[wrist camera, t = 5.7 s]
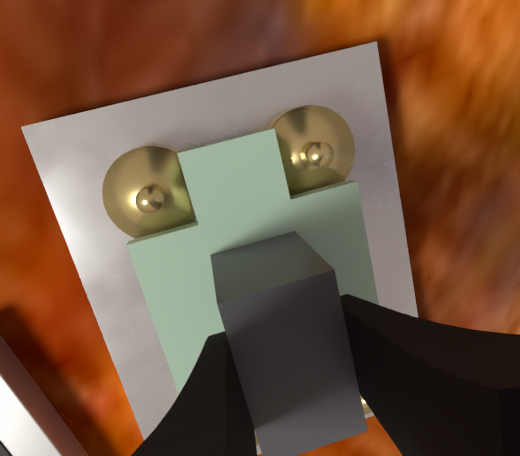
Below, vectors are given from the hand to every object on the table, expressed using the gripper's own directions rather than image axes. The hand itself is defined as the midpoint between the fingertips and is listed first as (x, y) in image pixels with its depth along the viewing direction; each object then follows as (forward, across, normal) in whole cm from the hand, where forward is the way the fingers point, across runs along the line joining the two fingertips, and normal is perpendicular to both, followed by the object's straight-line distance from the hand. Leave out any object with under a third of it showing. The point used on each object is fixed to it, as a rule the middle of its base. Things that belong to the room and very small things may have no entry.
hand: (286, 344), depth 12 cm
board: (+3, 0, 0) cm, 3 cm away
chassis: (+6, 0, 0) cm, 6 cm away
